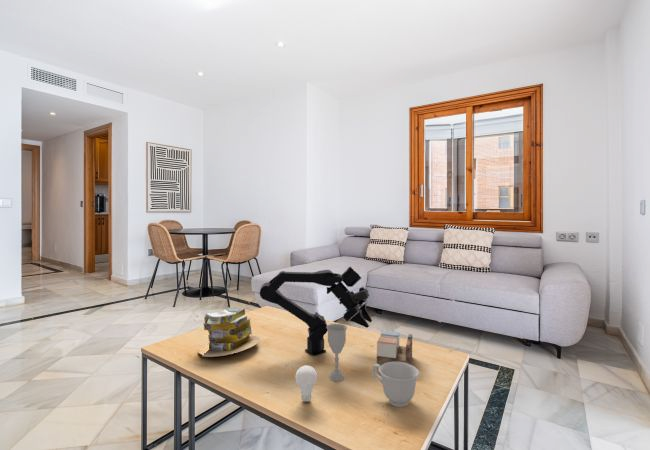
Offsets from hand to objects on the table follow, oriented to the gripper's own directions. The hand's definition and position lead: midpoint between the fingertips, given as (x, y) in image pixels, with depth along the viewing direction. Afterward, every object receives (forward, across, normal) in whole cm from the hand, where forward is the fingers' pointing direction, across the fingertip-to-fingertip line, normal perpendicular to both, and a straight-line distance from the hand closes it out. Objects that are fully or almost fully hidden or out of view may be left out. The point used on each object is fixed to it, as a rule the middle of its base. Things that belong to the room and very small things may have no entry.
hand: (369, 324), depth 138 cm
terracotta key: (+11, -8, 0) cm, 14 cm away
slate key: (+11, 0, 0) cm, 11 cm away
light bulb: (0, -40, +18) cm, 43 cm away
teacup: (+18, -31, 0) cm, 36 cm away
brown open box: (+16, -4, +1) cm, 17 cm away
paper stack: (-31, -13, +50) cm, 60 cm away
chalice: (+4, -22, +14) cm, 27 cm away
